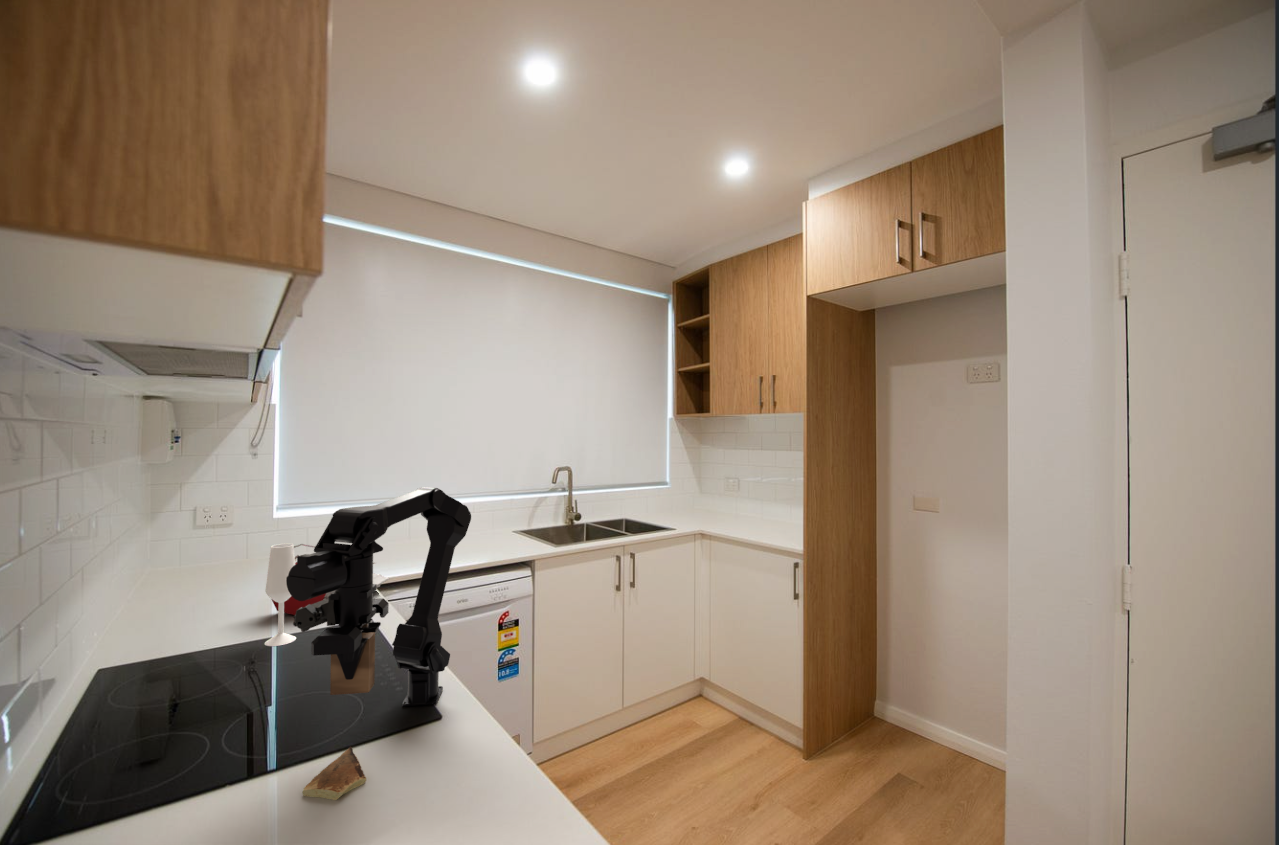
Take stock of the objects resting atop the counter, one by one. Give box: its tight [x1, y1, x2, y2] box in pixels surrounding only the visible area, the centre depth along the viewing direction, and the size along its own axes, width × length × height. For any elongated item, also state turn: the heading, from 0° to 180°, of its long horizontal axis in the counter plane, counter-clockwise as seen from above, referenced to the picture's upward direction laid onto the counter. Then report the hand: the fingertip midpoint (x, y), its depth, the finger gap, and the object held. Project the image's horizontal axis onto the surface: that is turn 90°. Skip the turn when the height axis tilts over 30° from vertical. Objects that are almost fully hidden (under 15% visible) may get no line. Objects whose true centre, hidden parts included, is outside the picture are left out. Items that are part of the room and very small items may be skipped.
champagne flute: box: [264, 543, 297, 647], centre depth 136 cm, size 7×7×24 cm
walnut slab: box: [329, 632, 376, 696], centre depth 92 cm, size 3×6×9 cm, turn 99°
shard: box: [302, 746, 367, 801], centre depth 84 cm, size 11×8×2 cm
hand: (353, 674), depth 92 cm, fingers closed on walnut slab, 3 cm apart
